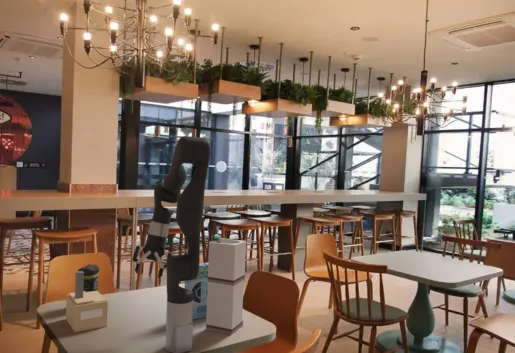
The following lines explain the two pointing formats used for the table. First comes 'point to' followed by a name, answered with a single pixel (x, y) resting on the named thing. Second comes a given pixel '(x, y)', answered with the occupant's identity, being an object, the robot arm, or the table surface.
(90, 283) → the coffee jar
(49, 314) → the table surface
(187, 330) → the robot arm
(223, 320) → the white square pillar
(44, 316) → the table surface
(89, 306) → the carton
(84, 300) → the flap
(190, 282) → the gum box
